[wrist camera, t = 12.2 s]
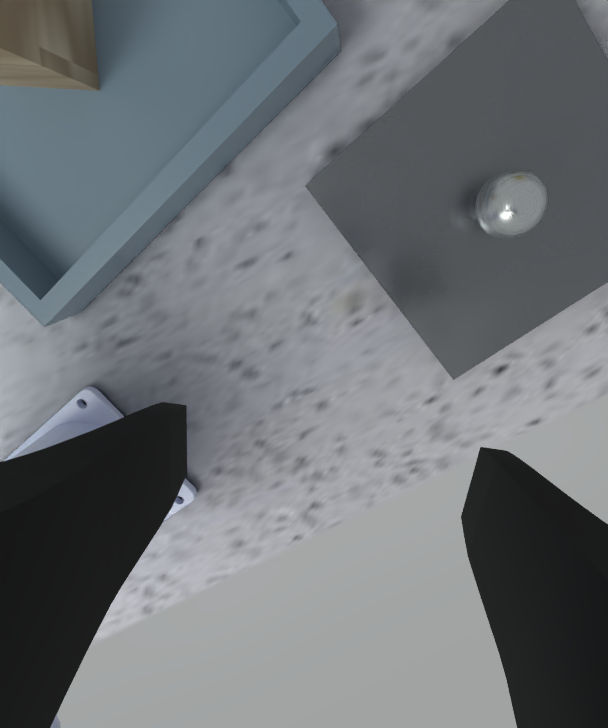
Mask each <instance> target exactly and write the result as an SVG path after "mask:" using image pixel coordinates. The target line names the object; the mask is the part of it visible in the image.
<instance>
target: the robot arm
mask: <svg viewBox="0 0 608 728" xmlns="http://www.w3.org/2000/svg"><path fill="white" fill-rule="evenodd" d="M82 399H83V400H84V401H85V402H86V403H87V405H85V404H84V403H83V402H82ZM186 475H187V424H186V405H179V404H172V403H165V402H162V403H159V404H155V405H153V406H150V407H147V408H145V409H142V410H140V411H137V412H135V413H132V414H130V415H128V416H125V417H124V416H123V415H122V414H121V413H120V412H119V411H118V410H117V409H116V408H115V407H114V406H113V405H112V404H111V403H110V402H109V401H108V400H107V399H106V398H105V397H104V396H103V395H102V394H101V393H100V392H99V391H98V390H97V389H96V388H94V387H91V386H90V387H86V388H84V389H83V390H81V391H80V392H79V393H78V394H77V395H76V396H74V397H73V398H72V399H71V400H70V401H69V402H68V403H67V404H66V405H65V406H63V407H62V408H61V409H60V410H59V411H58V412H57V413H56V414H55V415H54V416H52V417H51V418H50V419H49V420H48V421H47V422H46V423H45V424H44V425H43V426H41V427H40V428H39V429H38V430H37V431H36V432H35V433H34V434H33V435H31V436H30V437H29V438H28V439H27V440H26V441H25V442H24V443H23V444H22V445H20V446H19V447H18V448H17V449H16V450H15V451H14V452H13V453H12V454H11V455H9V456H8V457H7V458H6V459H5V460H4V461H3V462H0V728H60V721H59V719H58V717H57V712H58V710H59V708H60V705H61V703H62V701H63V699H64V697H65V695H66V693H67V691H68V689H69V687H70V685H71V683H72V681H73V678H74V676H75V674H76V672H77V670H78V668H79V666H80V664H81V662H82V660H83V658H84V656H85V654H86V652H87V650H88V648H89V646H90V644H91V642H92V640H93V638H94V636H95V634H96V632H97V630H98V628H99V626H100V624H101V622H102V621H103V619H104V617H105V615H106V613H107V611H108V609H109V607H110V605H111V603H112V602H113V600H114V598H115V597H116V595H117V593H118V591H119V590H120V588H121V586H122V585H123V583H124V582H125V580H126V579H127V577H128V576H129V574H130V572H131V571H132V569H133V568H134V566H135V565H136V563H137V562H138V560H139V558H140V557H141V555H142V554H143V552H144V551H145V549H146V548H147V546H148V544H149V543H150V541H151V540H152V538H153V537H154V535H155V534H156V532H157V530H158V529H159V527H160V526H161V524H162V522H163V521H165V520H166V519H168V518H169V517H171V516H172V515H173V514H175V513H176V512H178V511H179V510H181V509H182V508H184V507H185V506H187V505H188V504H190V503H191V502H192V501H193V500H194V499H195V497H196V495H197V491H196V489H195V487H194V486H193V485H192V484H191V483H190V482H189V481H188V480H187V479H186V478H185V477H186ZM178 496H180V497H182V498H183V499H180V498H178ZM461 519H462V525H463V531H464V537H465V543H466V548H467V553H468V557H469V561H470V564H471V568H472V570H473V574H474V577H475V580H476V583H477V586H478V590H479V593H480V596H481V599H482V602H483V605H484V608H485V611H486V614H487V617H488V620H489V623H490V627H491V629H492V633H493V635H494V638H495V642H496V645H497V648H498V651H499V654H500V658H501V661H502V665H503V668H504V672H505V676H506V679H507V683H508V688H509V693H510V697H511V701H512V706H513V711H514V715H515V719H516V724H517V728H608V524H606V523H605V522H603V521H602V520H600V519H599V518H598V517H596V516H595V515H594V514H592V513H591V512H590V511H588V510H587V509H585V508H584V507H583V506H581V505H580V504H579V503H577V502H576V501H574V500H573V499H572V498H571V497H569V496H568V495H567V494H565V493H564V492H563V491H561V490H560V489H559V488H557V487H556V486H555V485H553V484H552V483H551V482H550V481H548V480H547V479H546V478H544V477H543V476H542V475H541V474H539V473H538V472H537V471H535V470H534V469H533V468H531V467H530V466H529V465H527V464H526V463H524V462H523V461H522V460H520V459H519V458H518V457H516V456H515V455H513V454H511V453H510V452H508V451H504V450H497V449H490V448H483V447H480V451H479V455H478V458H477V462H476V466H475V470H474V472H473V477H472V480H471V483H470V487H469V491H468V494H467V498H466V501H465V505H464V508H463V512H462V516H461Z"/></svg>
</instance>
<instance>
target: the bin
mask: <svg viewBox="0 0 608 728" xmlns="http://www.w3.org/2000/svg"><path fill="white" fill-rule="evenodd" d="M92 9H93V20H94V31H95V43H96V54H97V66H98V77H99V88H100V91H96V90H77V89H59V88H40V87H21V86H3V85H0V283H1V284H2V285H3V286H4V287H5V288H6V289H7V290H8V291H9V292H10V293H11V294H12V295H13V296H14V297H15V298H16V299H17V300H18V301H19V302H20V303H21V304H22V305H23V306H24V307H25V308H26V309H27V310H28V311H29V312H30V313H31V314H32V315H33V316H34V317H35V318H36V319H37V320H38V321H39V322H40V323H41V324H42V325H43V326H44V327H45V326H48V325H50V324H53V323H55V322H58V321H60V320H63V319H65V318H68V317H70V316H73V315H76V314H78V313H80V312H81V311H82V310H83V309H84V308H85V307H86V306H87V305H88V304H89V303H90V302H91V301H92V300H93V299H94V298H95V297H96V296H97V295H98V294H99V293H100V292H101V291H102V290H103V289H104V288H105V287H106V286H107V285H108V284H109V283H110V282H111V281H112V280H113V279H114V278H115V277H116V276H117V275H118V274H119V273H120V272H121V271H122V270H123V269H124V268H125V267H126V266H127V265H128V264H129V263H130V262H131V261H132V260H133V259H134V258H135V257H136V256H137V255H138V254H139V253H140V252H141V251H142V250H143V249H144V248H145V247H146V246H147V245H148V244H149V243H150V242H151V241H152V240H153V239H154V238H155V237H156V236H157V235H158V234H159V233H160V232H161V231H162V230H163V229H164V228H165V227H166V226H167V225H168V224H169V223H170V222H171V221H172V220H173V219H174V218H175V217H176V216H177V215H178V214H179V213H180V212H181V211H182V210H183V209H184V208H185V207H186V206H187V205H188V204H189V203H190V202H191V201H192V200H193V199H194V198H195V197H196V196H197V195H198V194H199V193H200V192H201V191H202V190H203V189H204V188H205V187H206V186H207V185H208V184H209V183H210V182H211V181H212V180H213V179H214V178H215V177H216V176H217V175H218V174H219V173H220V172H221V171H222V170H223V169H224V168H225V167H226V166H227V165H228V164H229V163H230V162H231V161H232V160H233V159H234V158H235V157H236V156H237V155H238V154H239V153H240V152H241V151H242V150H243V149H244V148H245V147H246V146H247V145H248V144H249V143H250V142H251V141H252V140H253V139H254V138H255V137H256V136H257V135H258V134H259V133H260V132H261V131H262V130H263V129H264V128H265V127H266V126H267V125H268V124H269V123H270V122H271V121H272V120H273V119H274V118H275V117H276V116H277V115H278V114H279V113H280V112H281V111H282V110H283V109H284V108H285V107H286V106H287V105H288V104H289V103H290V102H291V101H292V100H293V99H294V98H295V97H296V96H297V95H298V94H299V93H300V92H301V91H302V90H303V89H304V88H305V87H306V86H307V85H308V84H309V83H310V82H311V81H312V80H313V79H314V78H315V77H316V76H317V75H318V74H319V73H320V72H321V71H322V70H323V68H324V67H325V66H326V65H327V64H328V63H329V62H330V61H331V60H332V59H333V58H334V57H335V56H336V55H337V54H338V53H339V52H340V51H341V46H340V38H339V30H338V24H337V22H336V21H335V19H334V18H333V16H332V15H331V13H330V12H329V11H328V9H327V8H326V6H325V5H324V3H323V2H322V0H92Z"/></svg>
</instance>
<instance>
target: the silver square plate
mask: <svg viewBox="0 0 608 728" xmlns="http://www.w3.org/2000/svg"><path fill="white" fill-rule="evenodd" d="M306 188H307V189H308V190H309V192H310V193H311V194H312V195H313V197H314V198H315V199H316V201H317V202H318V203H319V205H320V206H321V207H322V209H323V210H324V211H325V212H326V214H327V215H328V216H329V218H330V219H331V220H332V222H333V223H334V224H335V226H336V227H337V228H338V229H339V231H340V232H341V233H342V235H343V236H344V237H345V239H346V240H347V241H348V243H349V244H350V245H351V246H352V248H353V249H354V250H355V252H356V253H357V254H358V256H359V257H360V258H361V260H362V261H363V262H364V263H365V265H366V266H367V267H368V269H369V270H370V271H371V273H372V274H373V275H374V277H375V278H376V279H377V280H378V282H379V283H380V284H381V286H382V287H383V288H384V290H385V291H386V292H387V294H388V295H389V296H390V297H391V299H392V300H393V301H394V303H395V304H396V305H397V307H398V308H399V309H400V311H401V312H402V313H403V314H404V316H405V317H406V318H407V320H408V321H409V322H410V324H411V325H412V326H413V328H414V329H415V330H416V331H417V333H418V334H419V335H420V337H421V338H422V339H423V341H424V342H425V343H426V345H427V346H428V347H429V348H430V350H431V351H432V352H433V354H434V355H435V356H436V358H437V359H438V360H439V362H440V363H441V364H442V365H443V367H444V368H445V369H446V371H447V372H448V373H449V375H450V376H451V377H452V379H453V380H454V379H455V378H457V377H459V376H460V375H462V374H463V373H465V372H467V371H468V370H470V369H471V368H473V367H474V366H476V365H478V364H479V363H481V362H482V361H484V360H485V359H487V358H489V357H490V356H492V355H493V354H495V353H496V352H498V351H500V350H501V349H503V348H504V347H506V346H507V345H509V344H511V343H512V342H514V341H515V340H517V339H518V338H520V337H522V336H523V335H525V334H526V333H528V332H529V331H531V330H533V329H534V328H536V327H537V326H539V325H541V324H542V323H544V322H545V321H547V320H548V319H550V318H552V317H553V316H555V315H556V314H558V313H559V312H561V311H563V310H564V309H566V308H567V307H569V306H570V305H572V304H574V303H575V302H577V301H578V300H580V299H581V298H583V297H585V296H586V295H588V294H589V293H591V292H592V291H594V290H596V289H597V288H599V287H600V286H602V285H604V284H605V283H607V282H608V60H607V58H606V56H605V54H604V52H603V51H602V49H601V47H600V45H599V43H598V42H597V40H596V38H595V36H594V34H593V33H592V31H591V29H590V27H589V25H588V24H587V22H586V20H585V18H584V17H583V15H582V13H581V11H580V9H579V8H578V6H577V4H576V2H575V0H509V1H508V2H507V3H506V4H505V5H504V6H503V7H501V8H500V9H499V10H498V11H497V12H496V13H495V14H494V15H493V16H492V17H490V18H489V19H488V20H487V21H486V22H485V23H484V24H483V25H482V26H481V27H479V28H478V29H477V30H476V31H475V32H474V33H473V34H472V35H471V36H470V37H468V38H467V39H466V40H465V41H464V42H463V43H462V44H461V45H460V46H459V47H457V48H456V49H455V50H454V51H453V52H452V53H451V54H450V55H449V56H448V57H446V58H445V59H444V60H443V61H442V62H441V63H440V64H439V65H438V66H437V67H435V68H434V69H433V70H432V71H431V72H430V73H429V74H428V75H427V76H426V77H424V78H423V79H422V80H421V81H420V82H419V83H418V84H417V85H416V86H415V87H413V88H412V89H411V90H410V91H409V92H408V93H407V94H406V95H405V96H404V97H402V98H401V99H400V100H399V101H398V102H397V103H396V104H395V105H394V106H393V107H392V108H390V109H389V110H388V111H387V112H386V113H385V114H384V115H383V116H382V117H381V118H379V119H378V120H377V121H376V122H375V123H374V124H373V125H372V126H371V127H370V128H368V129H367V130H366V131H365V132H364V133H363V134H362V135H361V136H360V137H359V138H357V139H356V140H355V141H354V142H353V143H352V144H351V145H350V146H349V147H348V148H346V149H345V150H344V151H343V152H342V153H341V154H340V155H339V156H338V157H337V158H335V159H334V160H333V161H332V162H331V163H330V164H329V165H328V166H327V167H326V168H324V169H323V170H322V171H321V172H320V173H319V174H318V175H317V176H316V177H315V178H313V179H312V180H311V181H310V182H309V183H308V184H307V185H306Z"/></svg>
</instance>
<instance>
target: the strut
mask: <svg viewBox="0 0 608 728" xmlns="http://www.w3.org/2000/svg"><path fill="white" fill-rule="evenodd" d="M0 85H3V86H21V87H40V88H59V89H77V90H96V91H100V88H99V77H98V66H97V54H96V43H95V31H94V20H93V9H92V0H0Z"/></svg>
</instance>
